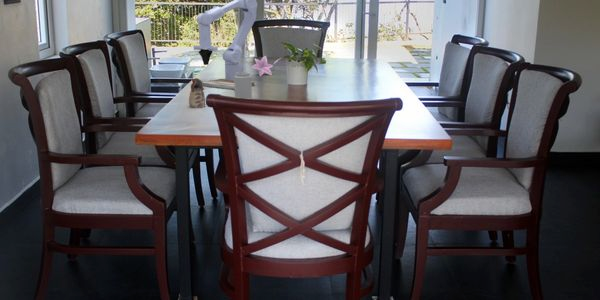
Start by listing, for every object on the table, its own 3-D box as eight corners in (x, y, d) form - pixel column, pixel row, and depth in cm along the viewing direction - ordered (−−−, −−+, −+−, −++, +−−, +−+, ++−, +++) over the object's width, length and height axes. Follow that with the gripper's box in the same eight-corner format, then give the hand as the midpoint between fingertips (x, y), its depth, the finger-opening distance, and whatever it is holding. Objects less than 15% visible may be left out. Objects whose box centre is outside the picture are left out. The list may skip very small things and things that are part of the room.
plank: (211, 83, 354) (210, 80, 354) (244, 87, 342) (244, 84, 342) (201, 85, 349) (201, 82, 348) (235, 89, 337) (235, 86, 336)
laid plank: (220, 81, 360) (220, 78, 360) (254, 85, 348) (254, 82, 348) (212, 83, 355) (212, 80, 355) (246, 86, 343) (245, 83, 342)
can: (242, 97, 316) (241, 71, 313) (255, 99, 312) (254, 72, 309) (231, 100, 310) (230, 73, 307) (244, 101, 306) (243, 74, 303)
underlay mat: (219, 82, 361) (219, 81, 360) (255, 85, 348) (255, 85, 348) (200, 86, 349) (199, 85, 349) (235, 90, 336) (235, 89, 336)
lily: (248, 78, 381) (252, 63, 375) (250, 66, 390) (254, 52, 385) (269, 84, 383) (274, 69, 377) (270, 73, 392) (275, 58, 387)
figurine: (209, 105, 297) (208, 77, 294) (196, 108, 292) (195, 79, 289) (198, 104, 302) (197, 76, 299) (185, 106, 297) (184, 78, 294)
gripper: (188, 37, 353) (190, 64, 356) (210, 38, 345) (211, 66, 348) (198, 36, 358) (199, 63, 362) (219, 37, 350) (221, 64, 354)
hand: (206, 64), depth 355 cm, fingers closed
